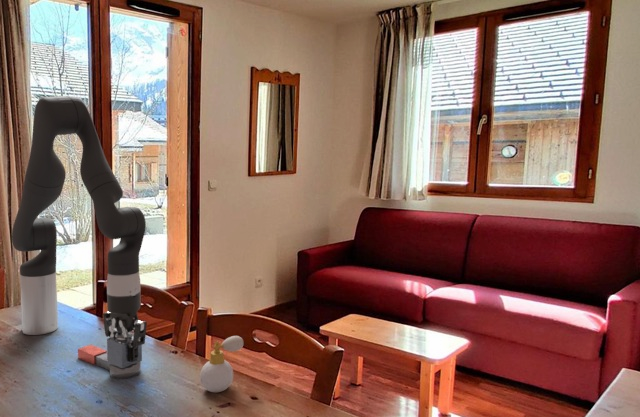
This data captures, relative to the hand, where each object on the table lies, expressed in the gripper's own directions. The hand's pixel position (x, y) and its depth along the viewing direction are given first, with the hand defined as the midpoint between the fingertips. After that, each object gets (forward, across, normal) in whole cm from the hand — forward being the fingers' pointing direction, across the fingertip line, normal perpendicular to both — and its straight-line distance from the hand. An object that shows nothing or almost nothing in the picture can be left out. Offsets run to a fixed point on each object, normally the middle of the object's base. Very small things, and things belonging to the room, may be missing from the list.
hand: (125, 357), depth 124 cm
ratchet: (+4, -7, 0) cm, 8 cm away
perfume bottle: (+4, +24, +8) cm, 26 cm away
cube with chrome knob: (+1, 0, 0) cm, 1 cm away
